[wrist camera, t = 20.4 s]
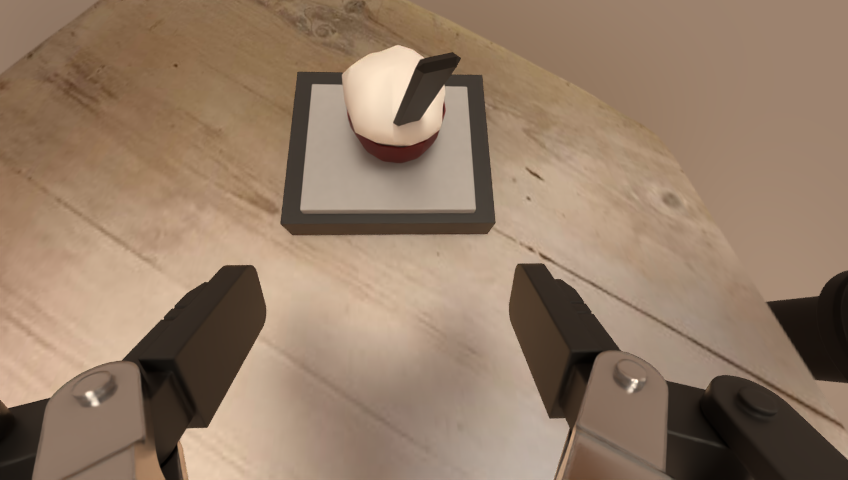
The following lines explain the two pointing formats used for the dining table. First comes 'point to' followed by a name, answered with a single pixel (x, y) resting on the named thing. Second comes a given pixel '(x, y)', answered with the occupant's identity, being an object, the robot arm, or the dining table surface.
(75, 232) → the dining table surface
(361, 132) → the cocoa
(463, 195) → the scale
